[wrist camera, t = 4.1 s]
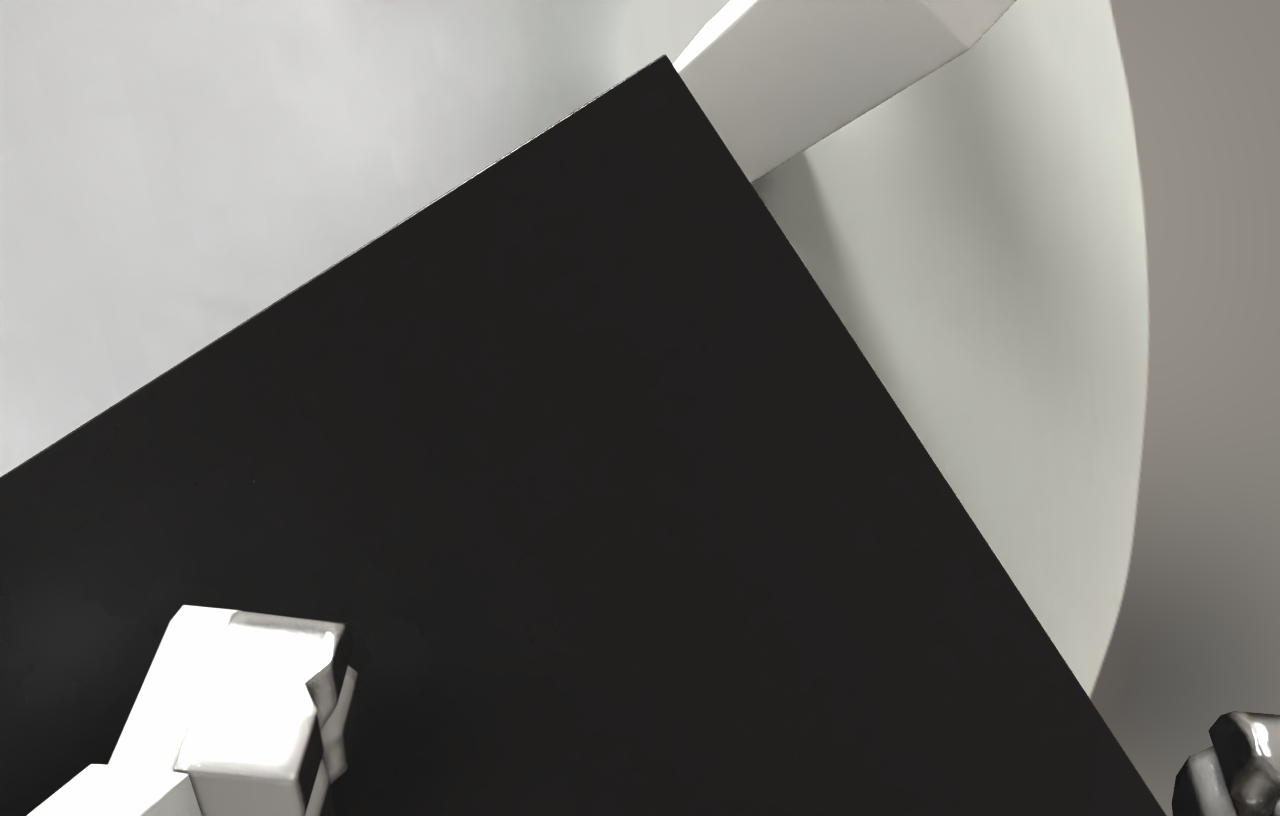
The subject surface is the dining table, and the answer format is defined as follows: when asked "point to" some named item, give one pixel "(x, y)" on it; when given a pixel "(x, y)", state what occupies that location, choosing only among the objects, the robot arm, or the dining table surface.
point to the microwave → (559, 522)
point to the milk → (817, 65)
